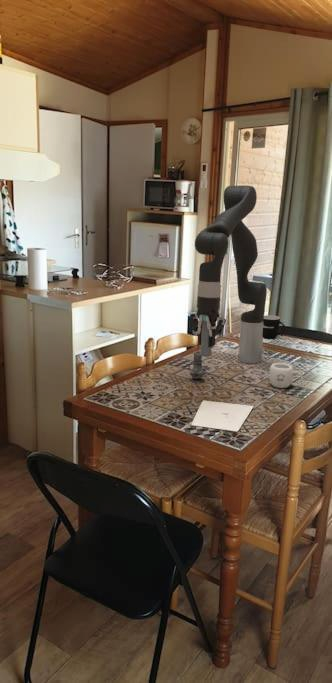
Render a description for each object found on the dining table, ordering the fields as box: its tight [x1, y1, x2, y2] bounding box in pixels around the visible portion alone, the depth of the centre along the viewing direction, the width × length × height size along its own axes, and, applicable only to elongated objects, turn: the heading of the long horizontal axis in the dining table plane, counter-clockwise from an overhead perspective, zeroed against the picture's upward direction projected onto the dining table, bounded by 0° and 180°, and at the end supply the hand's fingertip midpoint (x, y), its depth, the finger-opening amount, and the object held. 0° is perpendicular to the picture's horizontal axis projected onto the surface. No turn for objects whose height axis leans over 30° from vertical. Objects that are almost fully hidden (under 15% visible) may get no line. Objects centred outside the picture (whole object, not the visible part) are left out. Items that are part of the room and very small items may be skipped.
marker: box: [199, 314, 213, 357], centre depth 179 cm, size 4×4×14 cm
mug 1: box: [262, 314, 286, 340], centre depth 262 cm, size 12×9×10 cm
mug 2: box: [268, 362, 304, 389], centre depth 196 cm, size 12×8×8 cm
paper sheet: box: [190, 400, 255, 432], centre depth 173 cm, size 24×29×1 cm
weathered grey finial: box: [189, 349, 206, 384], centre depth 200 cm, size 6×6×12 cm
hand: (206, 345), depth 180 cm, fingers closed on marker, 3 cm apart
